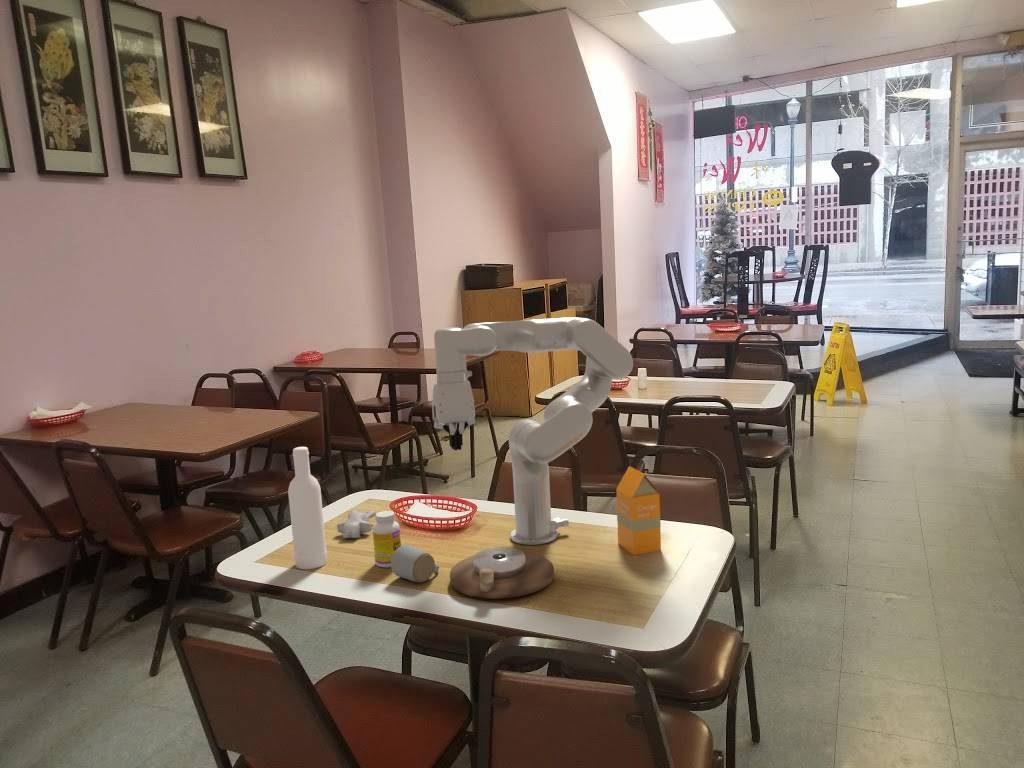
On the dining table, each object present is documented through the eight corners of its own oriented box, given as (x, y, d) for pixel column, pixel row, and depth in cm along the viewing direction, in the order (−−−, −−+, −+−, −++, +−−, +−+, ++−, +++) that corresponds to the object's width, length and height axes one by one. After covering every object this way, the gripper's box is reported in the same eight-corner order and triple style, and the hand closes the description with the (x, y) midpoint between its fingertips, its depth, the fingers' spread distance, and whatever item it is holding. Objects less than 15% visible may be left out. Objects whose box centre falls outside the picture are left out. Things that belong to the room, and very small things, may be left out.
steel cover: (532, 561, 183) (531, 548, 182) (516, 581, 172) (515, 567, 171) (484, 557, 187) (484, 544, 186) (466, 577, 176) (465, 563, 175)
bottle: (333, 562, 196) (323, 446, 191) (306, 572, 190) (294, 453, 185) (316, 555, 201) (305, 443, 196) (289, 565, 195) (277, 449, 191)
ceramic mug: (415, 588, 177) (413, 556, 176) (391, 580, 182) (389, 549, 181) (447, 573, 185) (446, 542, 184) (423, 566, 190) (421, 536, 189)
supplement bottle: (397, 568, 189) (392, 518, 187) (371, 568, 191) (367, 518, 189) (406, 558, 196) (402, 509, 194) (381, 557, 197) (377, 509, 195)
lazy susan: (564, 559, 187) (563, 538, 186) (538, 602, 164) (537, 577, 163) (471, 553, 194) (469, 532, 193) (434, 594, 171) (432, 570, 170)
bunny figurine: (331, 527, 210) (347, 504, 225) (333, 544, 212) (349, 520, 226) (365, 526, 210) (378, 503, 224) (367, 544, 211) (380, 519, 225)
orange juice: (644, 538, 201) (642, 463, 198) (661, 550, 192) (659, 472, 189) (617, 543, 198) (614, 467, 195) (633, 555, 190) (630, 476, 187)
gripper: (474, 372, 199) (478, 442, 202) (418, 378, 194) (423, 450, 196) (485, 376, 193) (489, 447, 195) (427, 382, 187) (432, 456, 190)
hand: (456, 448), depth 196 cm, fingers closed
